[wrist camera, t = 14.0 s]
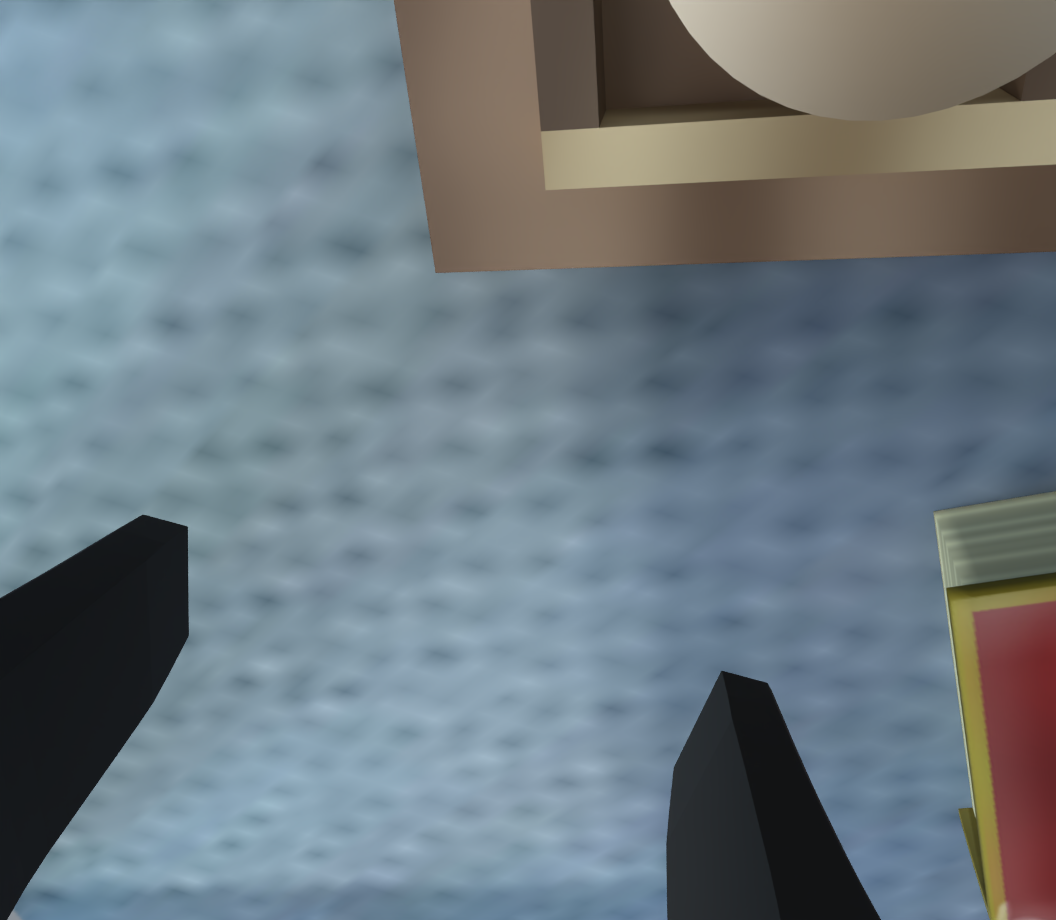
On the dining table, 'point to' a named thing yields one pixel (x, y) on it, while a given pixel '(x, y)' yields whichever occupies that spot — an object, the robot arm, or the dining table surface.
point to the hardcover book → (1006, 693)
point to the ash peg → (872, 50)
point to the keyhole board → (692, 151)
